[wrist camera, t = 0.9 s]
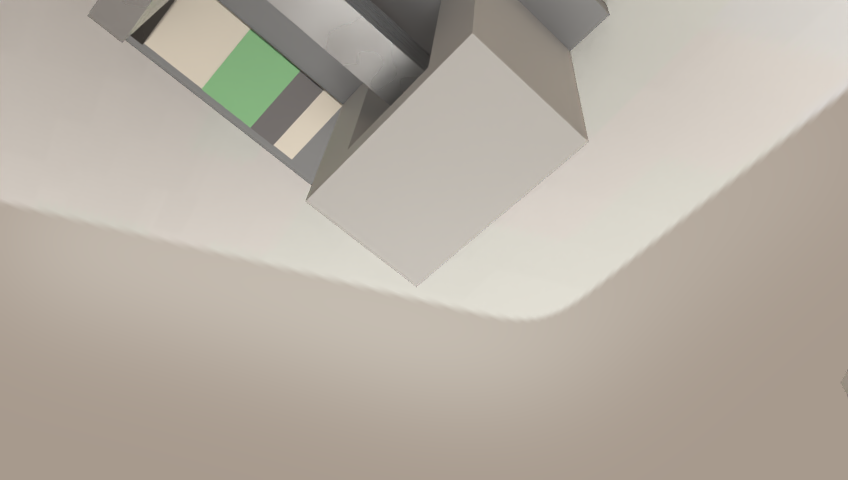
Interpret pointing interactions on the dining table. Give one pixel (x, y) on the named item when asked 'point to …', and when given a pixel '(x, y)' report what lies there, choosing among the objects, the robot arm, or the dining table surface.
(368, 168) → the gauge base
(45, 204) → the dining table surface
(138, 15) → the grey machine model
